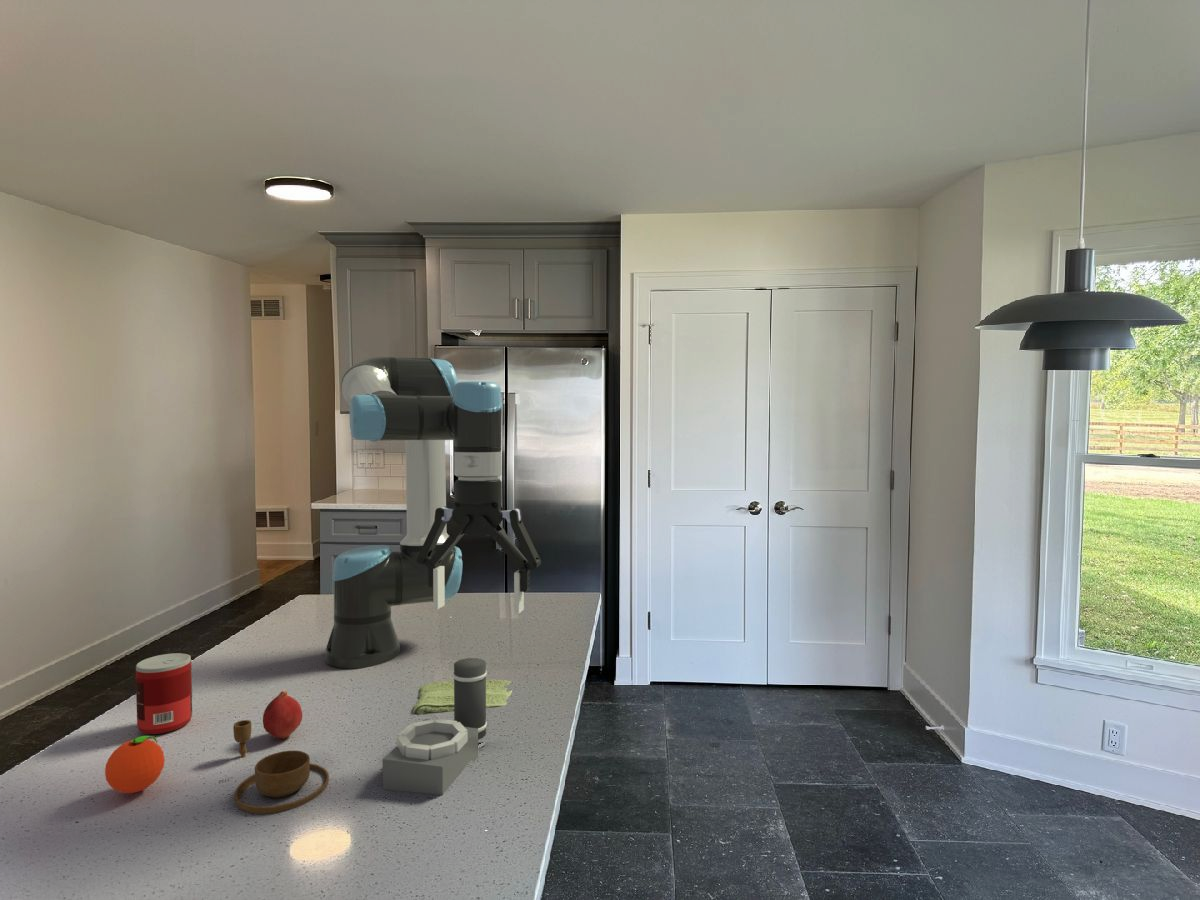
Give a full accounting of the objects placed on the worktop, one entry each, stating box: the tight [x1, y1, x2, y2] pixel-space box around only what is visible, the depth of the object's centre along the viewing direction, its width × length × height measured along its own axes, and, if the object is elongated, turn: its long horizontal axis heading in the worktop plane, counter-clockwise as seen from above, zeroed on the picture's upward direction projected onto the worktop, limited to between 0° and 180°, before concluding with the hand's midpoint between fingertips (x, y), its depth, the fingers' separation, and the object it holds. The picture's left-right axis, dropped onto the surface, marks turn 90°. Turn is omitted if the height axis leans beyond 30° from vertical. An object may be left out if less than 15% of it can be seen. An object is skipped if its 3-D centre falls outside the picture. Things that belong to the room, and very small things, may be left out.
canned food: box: [135, 652, 193, 735], centre depth 117 cm, size 8×8×11 cm
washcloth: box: [412, 678, 513, 715], centre depth 126 cm, size 13×18×3 cm
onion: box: [262, 689, 303, 740], centre depth 112 cm, size 6×6×8 cm
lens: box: [452, 657, 488, 745], centre depth 111 cm, size 5×5×13 cm
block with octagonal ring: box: [382, 718, 479, 796], centre depth 101 cm, size 12×9×6 cm
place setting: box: [218, 719, 330, 815], centre depth 100 cm, size 18×20×6 cm
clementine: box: [104, 735, 165, 794], centre depth 97 cm, size 8×7×7 cm
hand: (478, 609), depth 112 cm, fingers open, 13 cm apart
